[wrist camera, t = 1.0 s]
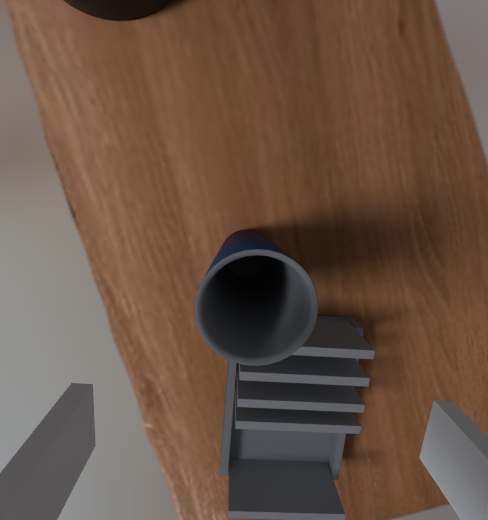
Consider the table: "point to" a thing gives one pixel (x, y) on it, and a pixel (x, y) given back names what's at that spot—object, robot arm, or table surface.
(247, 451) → the rack
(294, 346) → the cup
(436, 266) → the table surface
